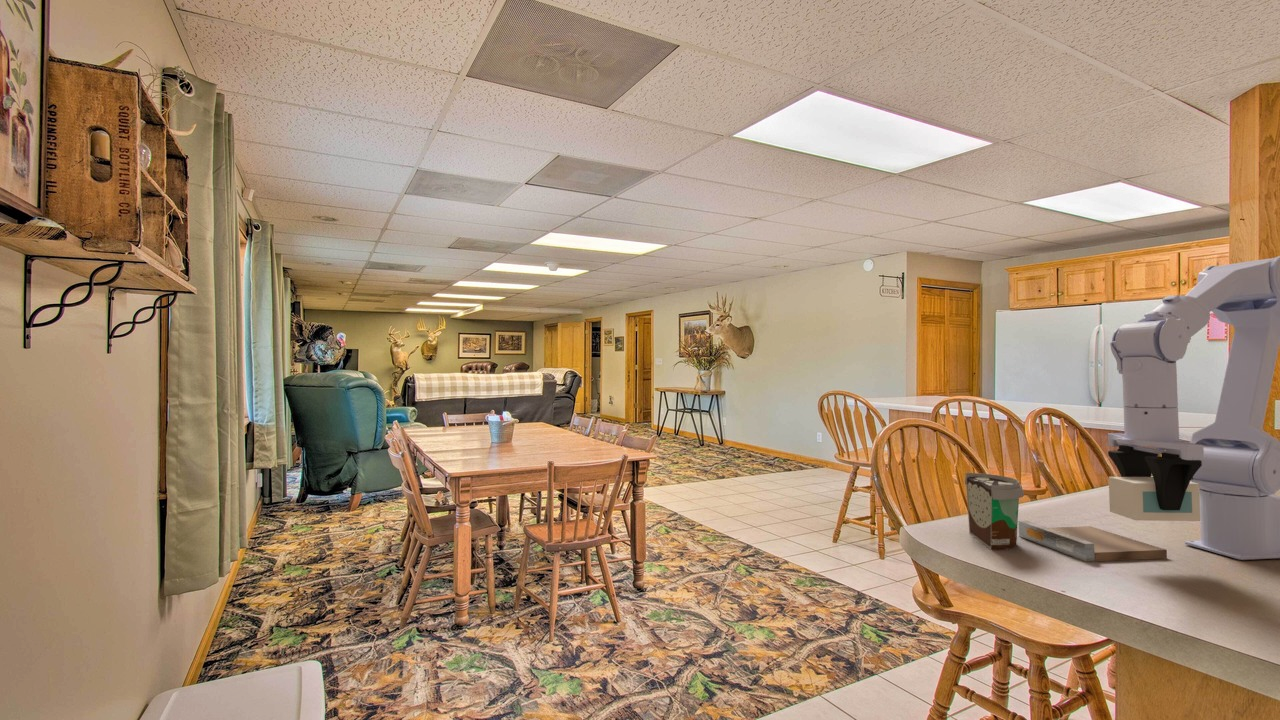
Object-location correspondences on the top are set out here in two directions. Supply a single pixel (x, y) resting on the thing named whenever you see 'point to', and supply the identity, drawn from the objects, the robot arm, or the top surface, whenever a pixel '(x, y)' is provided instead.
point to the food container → (993, 509)
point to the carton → (1149, 500)
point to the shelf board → (1114, 544)
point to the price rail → (1057, 541)
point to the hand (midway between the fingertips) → (1153, 505)
